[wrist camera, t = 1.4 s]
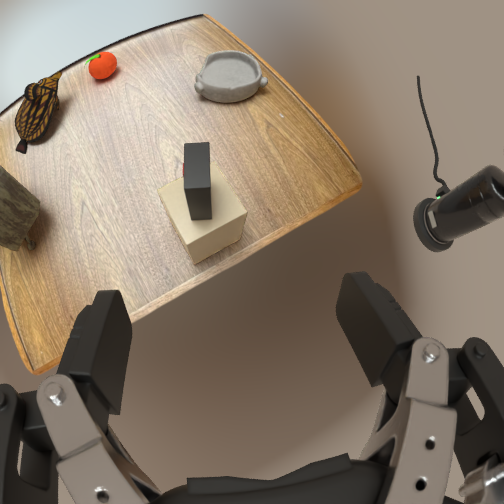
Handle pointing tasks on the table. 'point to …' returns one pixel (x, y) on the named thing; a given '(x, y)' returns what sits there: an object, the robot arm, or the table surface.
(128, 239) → the table surface
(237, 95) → the dish
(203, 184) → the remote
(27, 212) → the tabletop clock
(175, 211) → the stand
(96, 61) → the clementine
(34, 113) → the decorative fish sculpture
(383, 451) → the robot arm
